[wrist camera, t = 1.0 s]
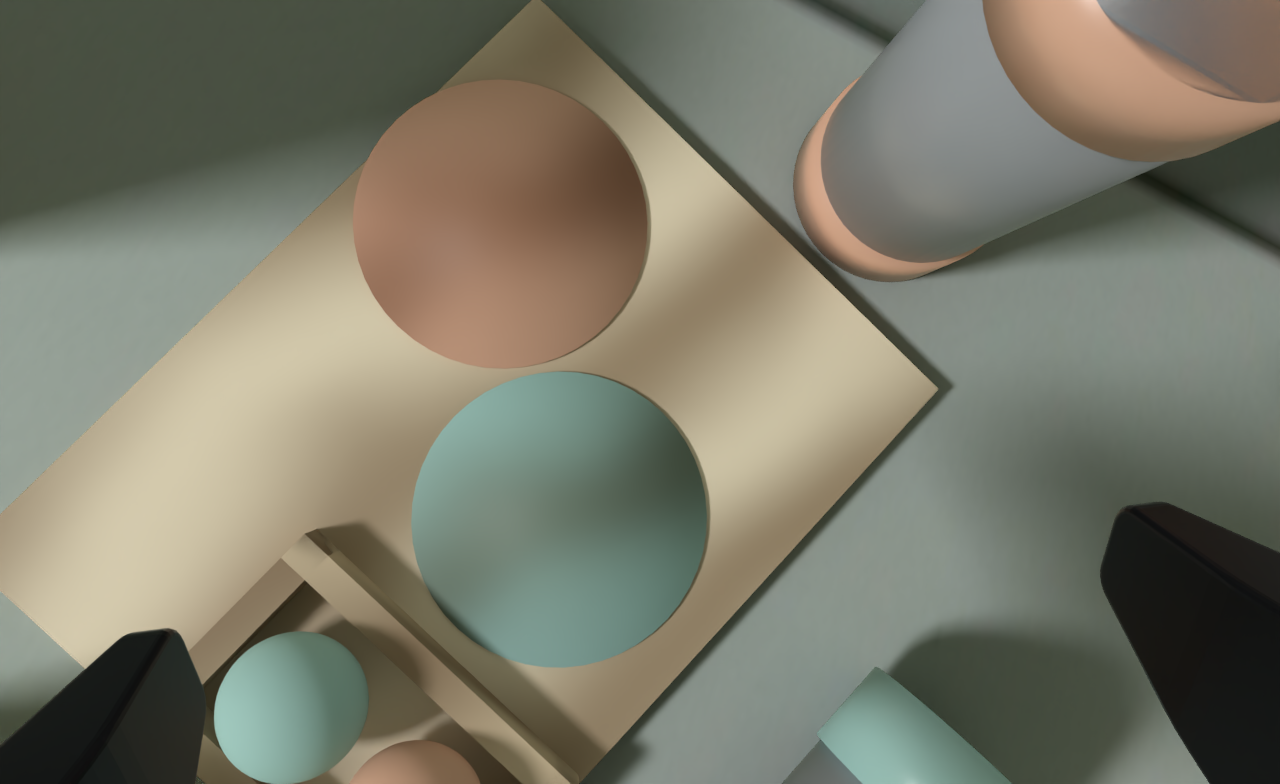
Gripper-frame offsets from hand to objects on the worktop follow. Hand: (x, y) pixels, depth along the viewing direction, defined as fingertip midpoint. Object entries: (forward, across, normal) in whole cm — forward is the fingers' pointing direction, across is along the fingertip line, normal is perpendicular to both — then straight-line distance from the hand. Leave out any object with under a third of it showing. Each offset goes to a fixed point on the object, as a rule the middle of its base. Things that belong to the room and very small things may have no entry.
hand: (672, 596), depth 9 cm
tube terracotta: (+15, -8, +2) cm, 17 cm away
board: (+12, +3, +6) cm, 14 cm away
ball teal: (+9, +7, +10) cm, 15 cm away
